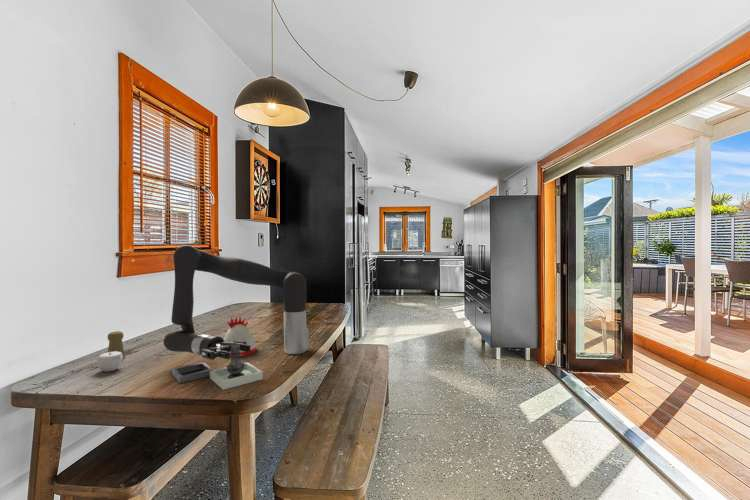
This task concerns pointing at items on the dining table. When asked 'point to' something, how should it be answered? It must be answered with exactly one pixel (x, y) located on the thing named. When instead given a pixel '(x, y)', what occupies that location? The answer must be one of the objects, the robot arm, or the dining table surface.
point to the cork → (116, 342)
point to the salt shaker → (235, 362)
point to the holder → (177, 373)
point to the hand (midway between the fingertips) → (239, 352)
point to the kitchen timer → (240, 335)
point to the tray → (224, 382)
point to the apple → (109, 361)
